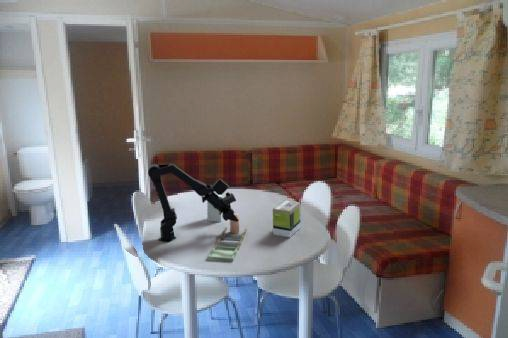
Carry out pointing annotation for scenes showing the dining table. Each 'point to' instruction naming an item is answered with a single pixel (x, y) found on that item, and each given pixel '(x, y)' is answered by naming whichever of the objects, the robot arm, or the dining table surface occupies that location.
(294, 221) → the tea box
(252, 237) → the dining table surface
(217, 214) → the skincare box
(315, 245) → the dining table surface
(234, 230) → the peach capsule
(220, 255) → the frame
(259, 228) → the dining table surface
